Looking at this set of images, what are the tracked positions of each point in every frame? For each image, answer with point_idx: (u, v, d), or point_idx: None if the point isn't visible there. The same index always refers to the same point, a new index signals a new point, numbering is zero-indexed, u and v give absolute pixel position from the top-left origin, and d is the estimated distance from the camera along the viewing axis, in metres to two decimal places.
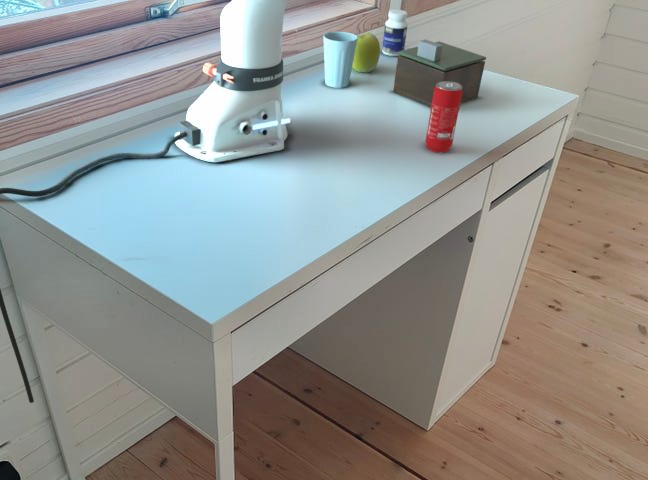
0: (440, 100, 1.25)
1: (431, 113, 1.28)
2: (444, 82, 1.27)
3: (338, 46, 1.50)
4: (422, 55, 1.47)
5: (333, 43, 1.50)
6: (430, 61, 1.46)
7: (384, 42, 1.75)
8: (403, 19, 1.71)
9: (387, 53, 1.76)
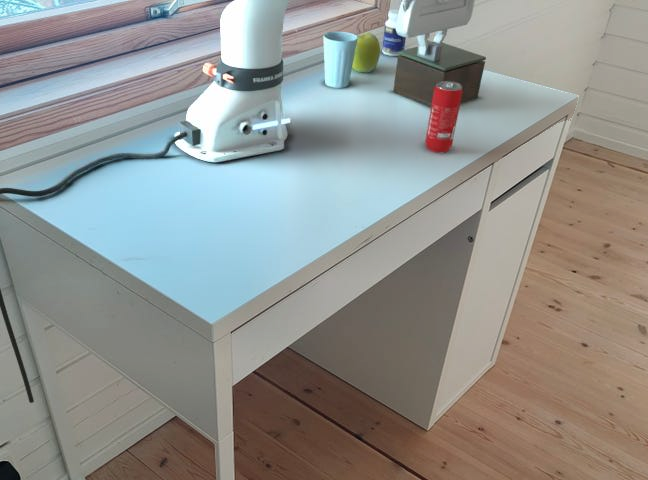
0: (440, 100, 1.25)
1: (431, 113, 1.28)
2: (444, 82, 1.27)
3: (338, 46, 1.50)
4: (422, 55, 1.47)
5: (333, 43, 1.50)
6: (430, 61, 1.46)
7: (384, 42, 1.75)
8: None
9: (387, 53, 1.76)
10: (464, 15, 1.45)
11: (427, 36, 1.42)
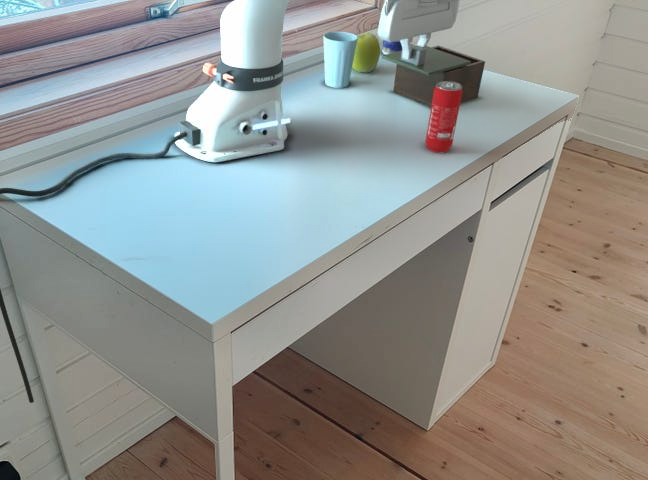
0: (440, 100, 1.25)
1: (431, 113, 1.28)
2: (444, 82, 1.27)
3: (338, 46, 1.50)
4: (406, 59, 1.45)
5: (333, 43, 1.50)
6: (414, 65, 1.43)
7: (384, 42, 1.75)
8: None
9: (387, 53, 1.76)
10: (448, 18, 1.42)
11: (410, 40, 1.40)
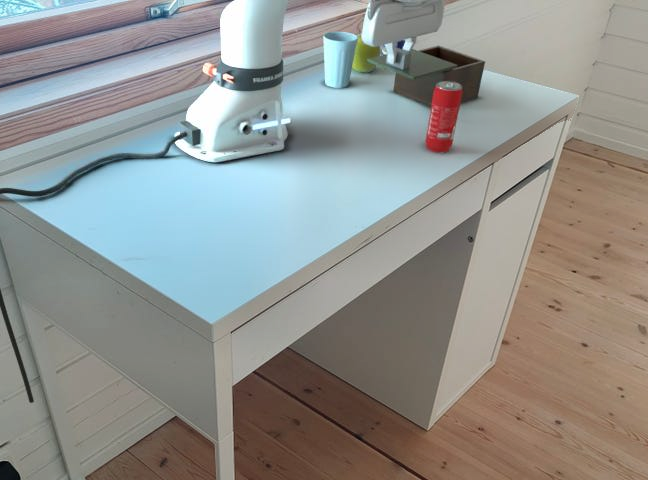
0: (440, 100, 1.25)
1: (431, 113, 1.28)
2: (444, 82, 1.27)
3: (338, 46, 1.50)
4: None
5: (333, 43, 1.50)
6: (399, 69, 1.41)
7: None
8: None
9: None
10: (433, 22, 1.40)
11: (395, 44, 1.38)
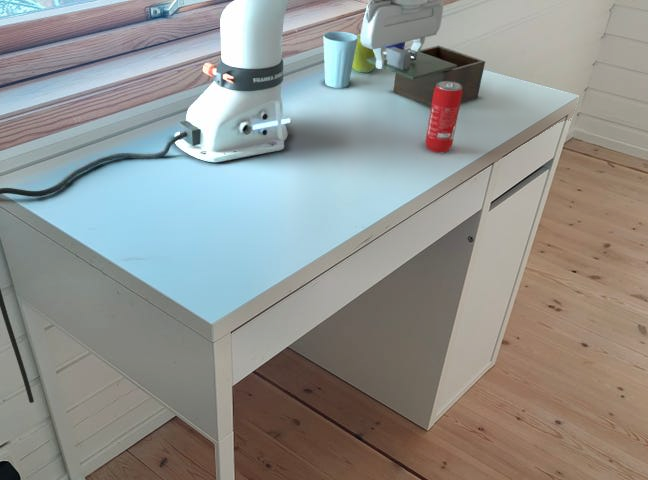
0: (440, 100, 1.25)
1: (431, 113, 1.28)
2: (444, 82, 1.27)
3: (338, 46, 1.50)
4: (391, 63, 1.43)
5: (333, 43, 1.50)
6: (398, 69, 1.41)
7: None
8: None
9: None
10: (432, 25, 1.40)
11: (383, 49, 1.36)
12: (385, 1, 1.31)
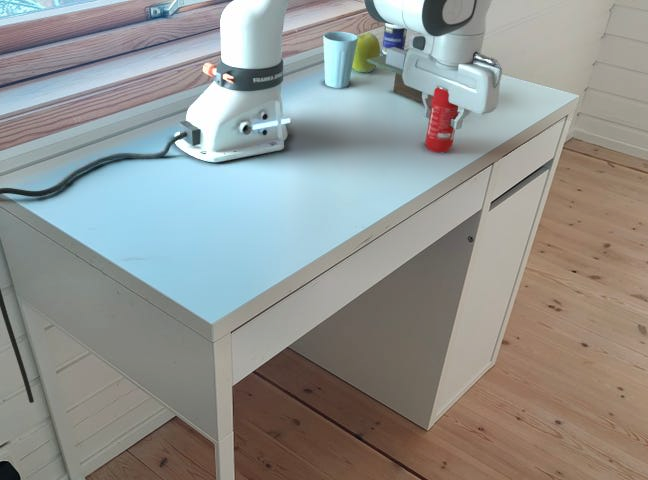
0: (440, 100, 1.25)
1: (431, 113, 1.28)
2: None
3: (338, 46, 1.50)
4: (391, 63, 1.43)
5: (333, 43, 1.50)
6: (398, 69, 1.41)
7: (384, 42, 1.75)
8: None
9: None
10: None
11: None
12: None
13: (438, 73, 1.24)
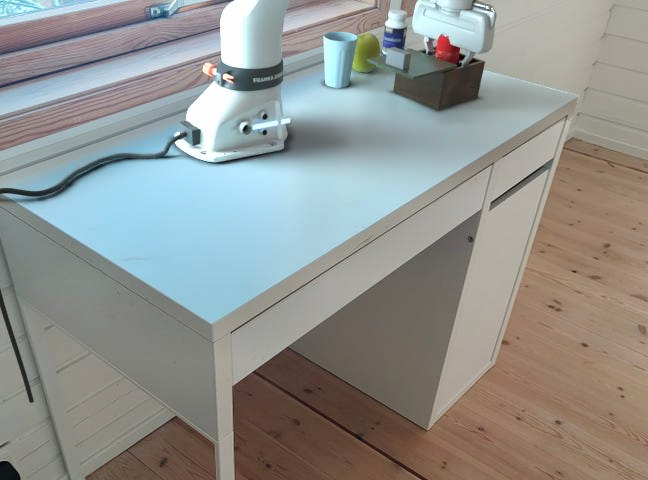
0: (443, 46, 1.48)
1: None
2: None
3: (338, 46, 1.50)
4: (391, 63, 1.43)
5: (333, 43, 1.50)
6: (398, 69, 1.41)
7: (384, 42, 1.75)
8: (403, 19, 1.71)
9: None
10: None
11: None
12: None
13: (443, 20, 1.47)
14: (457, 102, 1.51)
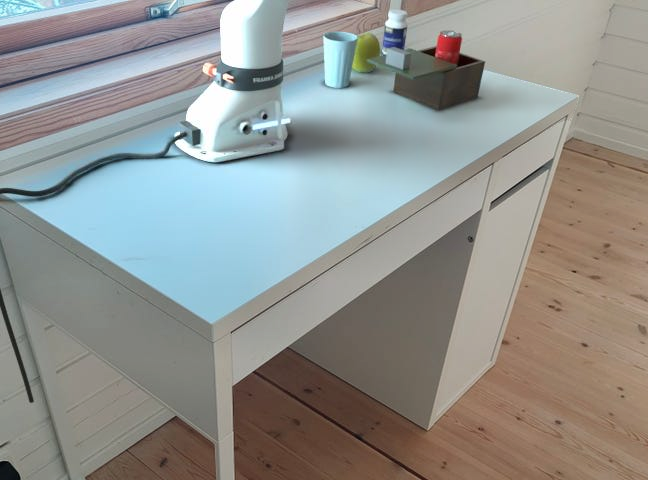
0: (443, 46, 1.48)
1: None
2: (446, 31, 1.50)
3: (338, 46, 1.50)
4: (391, 63, 1.43)
5: (333, 43, 1.50)
6: (398, 69, 1.41)
7: (384, 42, 1.75)
8: (403, 19, 1.71)
9: None
10: None
11: None
12: None
13: None
14: (457, 102, 1.51)
